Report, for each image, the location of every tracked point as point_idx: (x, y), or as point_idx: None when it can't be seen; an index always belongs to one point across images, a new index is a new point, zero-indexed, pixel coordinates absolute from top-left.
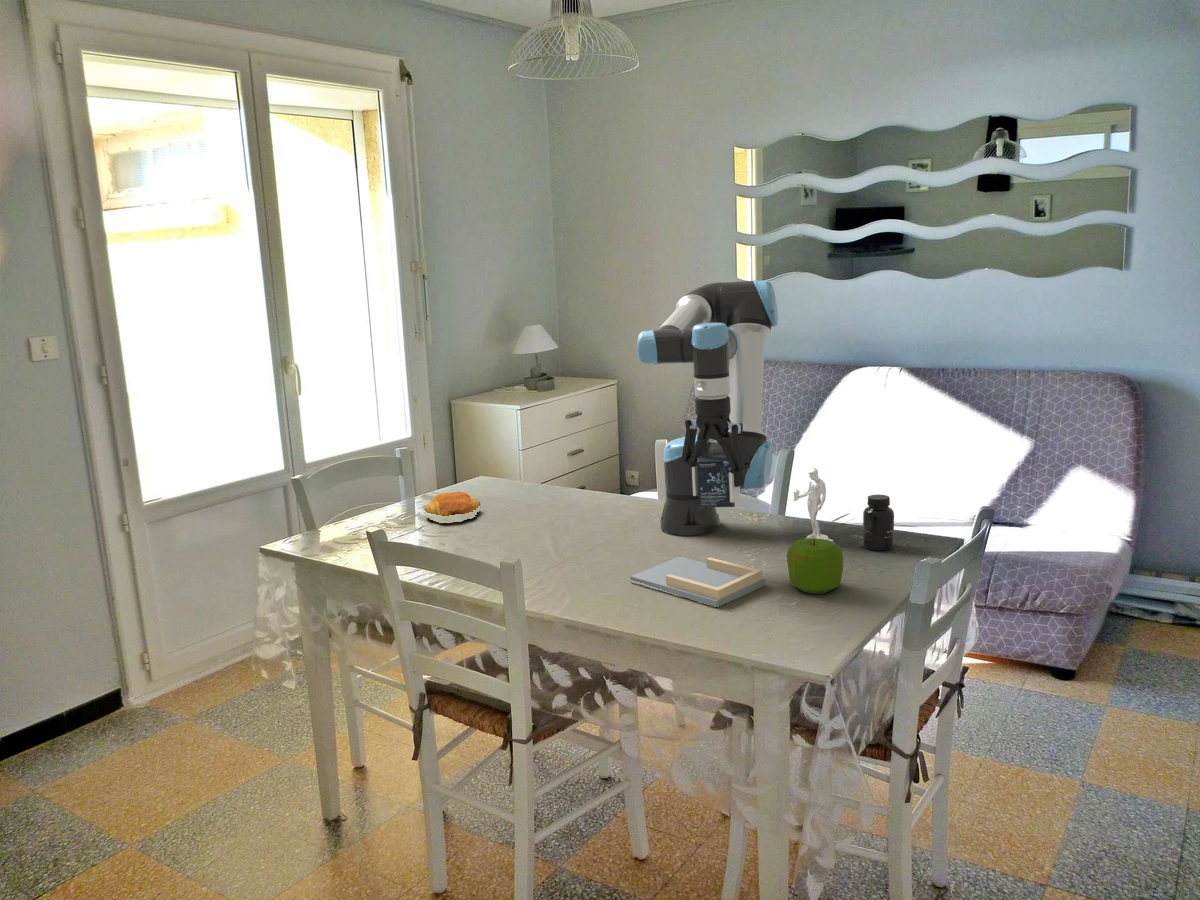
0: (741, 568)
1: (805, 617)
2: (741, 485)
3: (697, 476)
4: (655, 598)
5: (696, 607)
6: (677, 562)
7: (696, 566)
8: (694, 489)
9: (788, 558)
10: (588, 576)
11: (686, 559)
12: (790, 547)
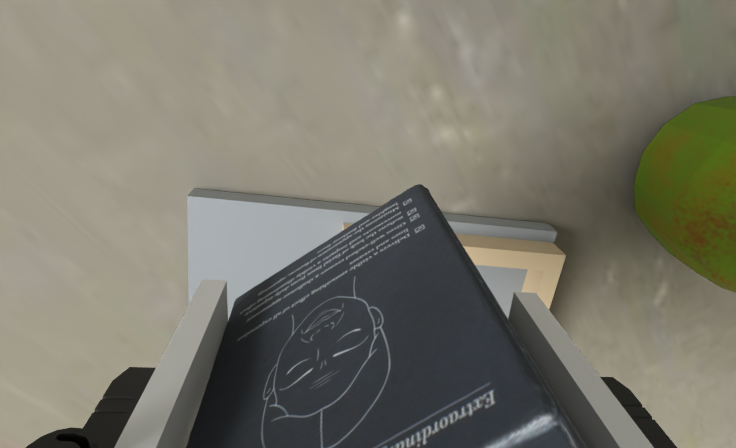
0: (493, 265)
1: (709, 347)
2: (614, 383)
3: (191, 429)
4: None
5: None
6: (225, 248)
7: (306, 247)
8: None
9: (692, 265)
10: (52, 406)
11: (231, 209)
12: (722, 262)
